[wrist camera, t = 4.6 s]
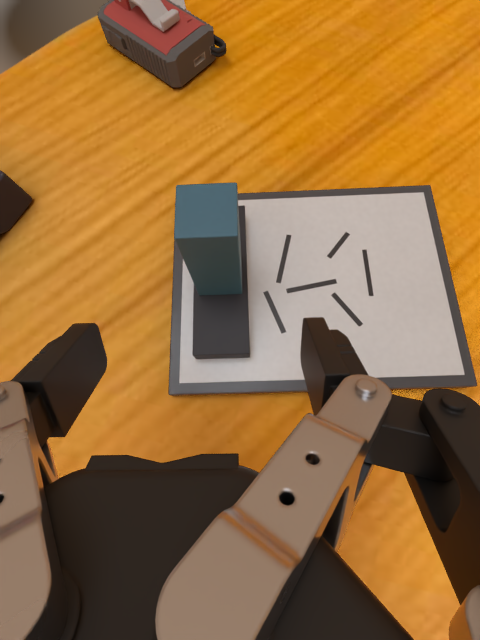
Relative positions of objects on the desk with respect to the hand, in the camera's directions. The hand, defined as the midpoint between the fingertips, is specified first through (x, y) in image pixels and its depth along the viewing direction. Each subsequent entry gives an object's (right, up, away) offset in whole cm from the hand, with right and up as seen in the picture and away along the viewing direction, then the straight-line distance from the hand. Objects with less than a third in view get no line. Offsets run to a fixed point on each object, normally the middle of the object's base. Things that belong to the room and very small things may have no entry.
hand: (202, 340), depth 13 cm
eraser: (0, +4, +13) cm, 13 cm away
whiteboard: (+7, +4, +14) cm, 16 cm away
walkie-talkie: (-9, +33, +23) cm, 41 cm away
